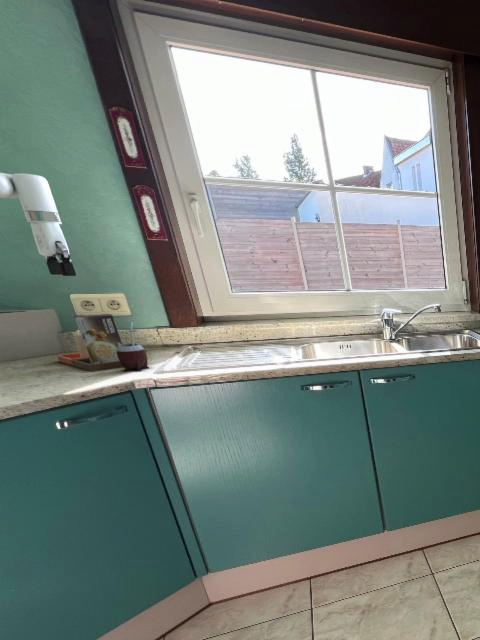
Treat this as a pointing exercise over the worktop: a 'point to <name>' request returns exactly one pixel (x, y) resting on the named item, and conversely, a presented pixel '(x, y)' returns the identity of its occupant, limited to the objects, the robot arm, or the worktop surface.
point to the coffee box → (99, 337)
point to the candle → (80, 344)
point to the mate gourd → (132, 355)
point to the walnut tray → (96, 365)
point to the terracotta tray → (69, 358)
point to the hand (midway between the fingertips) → (63, 275)
